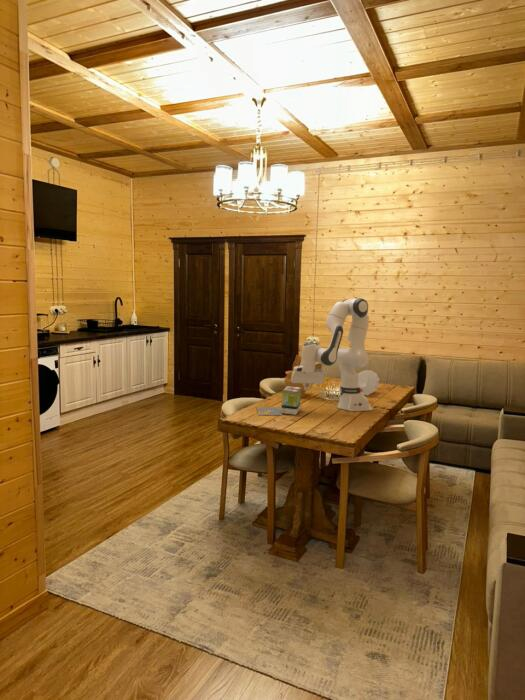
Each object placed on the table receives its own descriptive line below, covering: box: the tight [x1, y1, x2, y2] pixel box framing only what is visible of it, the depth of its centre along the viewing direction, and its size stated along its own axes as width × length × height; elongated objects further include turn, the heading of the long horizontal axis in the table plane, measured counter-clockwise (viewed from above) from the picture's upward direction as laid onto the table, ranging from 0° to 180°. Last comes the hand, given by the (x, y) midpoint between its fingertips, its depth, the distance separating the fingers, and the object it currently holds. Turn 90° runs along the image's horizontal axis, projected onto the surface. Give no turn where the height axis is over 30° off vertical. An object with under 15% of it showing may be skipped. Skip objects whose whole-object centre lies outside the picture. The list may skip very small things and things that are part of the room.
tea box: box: [280, 385, 302, 416], centre depth 300 cm, size 15×10×15 cm, turn 168°
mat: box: [255, 406, 284, 416], centre depth 299 cm, size 15×20×1 cm
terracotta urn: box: [284, 354, 313, 398], centre depth 346 cm, size 21×21×30 cm
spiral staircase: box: [357, 369, 381, 396], centre depth 362 cm, size 18×18×25 cm
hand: (306, 390), depth 300 cm, fingers closed
